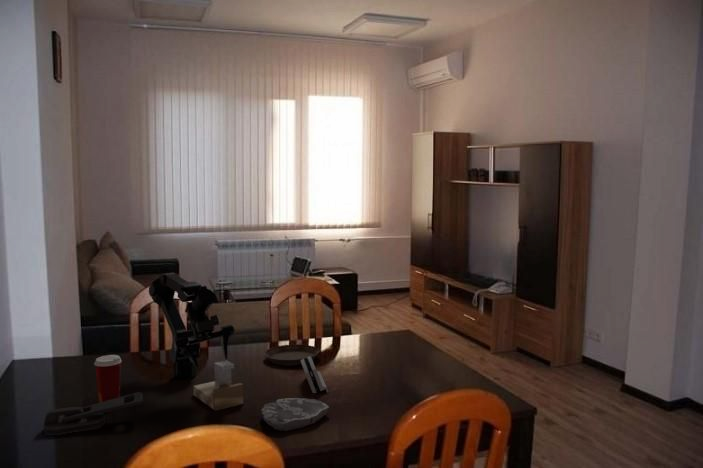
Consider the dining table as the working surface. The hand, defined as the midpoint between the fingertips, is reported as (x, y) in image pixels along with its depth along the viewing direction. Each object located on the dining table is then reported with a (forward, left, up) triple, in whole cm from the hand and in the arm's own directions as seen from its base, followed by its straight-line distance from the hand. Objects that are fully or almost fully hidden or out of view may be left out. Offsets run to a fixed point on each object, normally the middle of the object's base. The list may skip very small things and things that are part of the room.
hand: (212, 363), depth 182 cm
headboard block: (+4, -4, -10) cm, 11 cm away
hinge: (+28, +17, -10) cm, 34 cm away
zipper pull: (-19, -30, -10) cm, 37 cm away
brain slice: (+31, -11, -10) cm, 34 cm away
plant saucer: (+10, +41, -10) cm, 44 cm away
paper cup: (-26, -16, -10) cm, 32 cm away
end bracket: (+7, -6, -10) cm, 14 cm away
